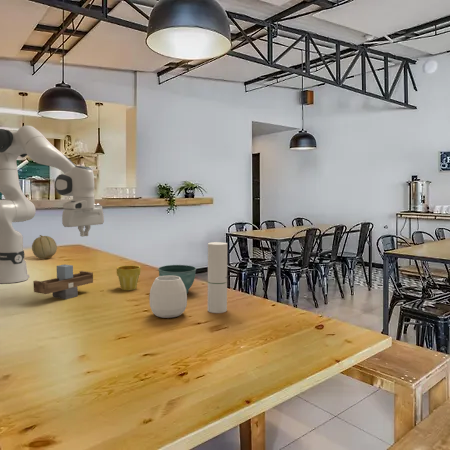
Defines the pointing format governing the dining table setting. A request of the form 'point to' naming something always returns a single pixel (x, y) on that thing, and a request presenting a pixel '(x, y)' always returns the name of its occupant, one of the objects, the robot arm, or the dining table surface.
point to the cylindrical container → (217, 277)
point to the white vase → (168, 296)
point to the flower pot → (180, 273)
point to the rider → (64, 272)
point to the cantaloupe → (44, 247)
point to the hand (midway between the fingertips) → (84, 236)
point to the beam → (63, 285)
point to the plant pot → (128, 276)
